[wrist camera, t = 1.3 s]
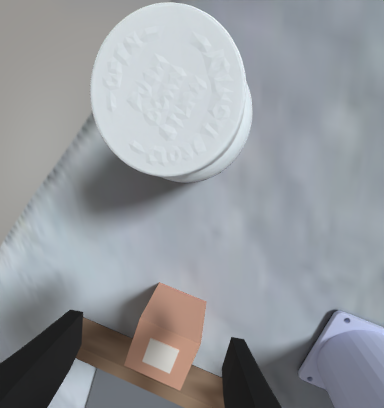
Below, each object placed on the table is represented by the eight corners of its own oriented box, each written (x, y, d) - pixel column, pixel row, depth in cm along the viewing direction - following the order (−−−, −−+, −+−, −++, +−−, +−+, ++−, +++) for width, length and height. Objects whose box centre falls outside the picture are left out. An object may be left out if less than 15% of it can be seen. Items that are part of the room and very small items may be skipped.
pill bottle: (254, 148, 17) (306, 127, 6) (191, 186, 19) (140, 225, 8) (216, 79, 16) (197, -80, 6) (153, 124, 18) (40, 69, 7)
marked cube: (206, 301, 21) (200, 345, 16) (190, 339, 22) (179, 392, 17) (159, 281, 21) (139, 319, 16) (146, 321, 22) (123, 366, 17)
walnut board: (249, 389, 22) (252, 425, 19) (243, 399, 22) (246, 436, 19) (77, 314, 23) (56, 336, 20) (74, 325, 24) (53, 348, 21)
